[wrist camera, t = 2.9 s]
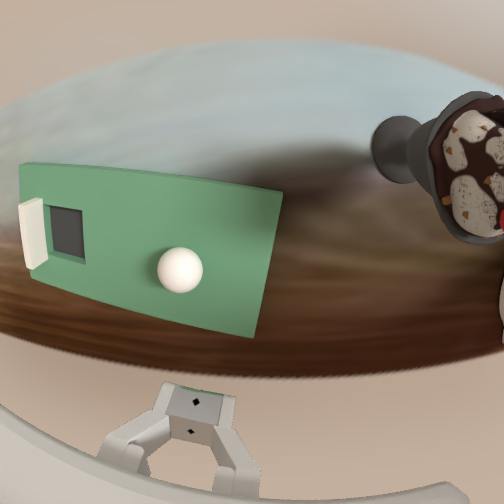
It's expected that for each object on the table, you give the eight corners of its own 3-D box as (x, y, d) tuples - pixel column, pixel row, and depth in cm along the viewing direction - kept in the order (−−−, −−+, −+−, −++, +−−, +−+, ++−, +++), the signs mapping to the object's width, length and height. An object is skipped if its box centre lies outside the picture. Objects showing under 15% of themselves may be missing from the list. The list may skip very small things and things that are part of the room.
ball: (209, 244, 21) (197, 263, 18) (205, 283, 22) (194, 306, 19) (167, 236, 21) (150, 254, 18) (166, 274, 22) (150, 296, 19)
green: (282, 191, 20) (282, 203, 17) (254, 329, 25) (250, 357, 22) (27, 162, 21) (1, 169, 17) (37, 272, 26) (17, 288, 22)
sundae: (388, 211, 20) (516, 340, 6) (343, 129, 18) (482, 132, 4) (453, 171, 18) (607, 242, 4) (416, 90, 16) (582, 68, 2)
